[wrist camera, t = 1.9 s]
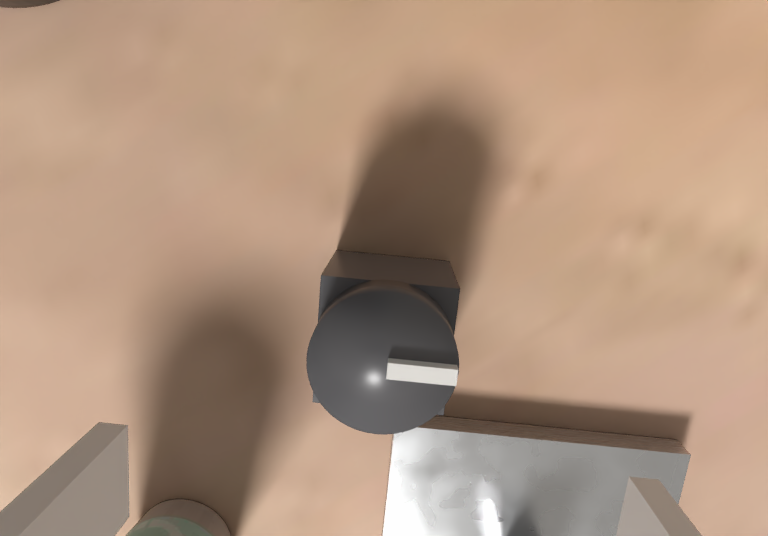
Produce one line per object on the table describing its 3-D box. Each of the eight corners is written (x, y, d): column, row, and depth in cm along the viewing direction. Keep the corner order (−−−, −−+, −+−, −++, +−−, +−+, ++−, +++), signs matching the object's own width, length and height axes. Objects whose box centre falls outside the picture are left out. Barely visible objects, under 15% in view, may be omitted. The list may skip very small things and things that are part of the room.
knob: (326, 356, 30) (300, 432, 22) (334, 248, 28) (308, 288, 21) (437, 368, 30) (450, 448, 22) (451, 259, 28) (469, 304, 20)
